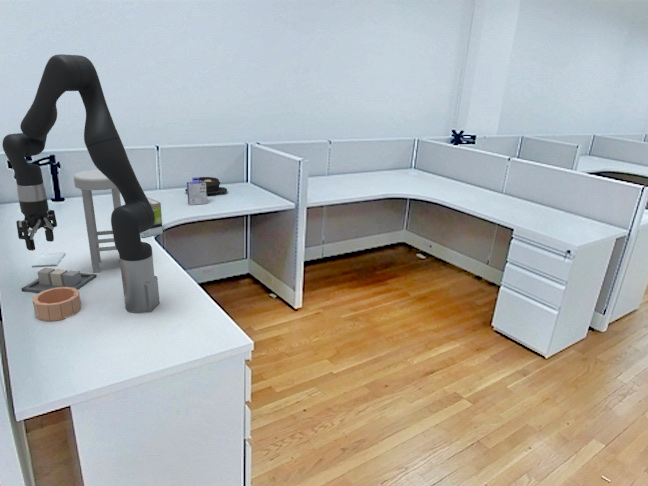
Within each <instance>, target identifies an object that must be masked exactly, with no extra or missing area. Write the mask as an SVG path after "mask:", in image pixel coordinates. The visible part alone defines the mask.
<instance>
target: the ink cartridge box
mask: <svg viewBox="0 0 648 486" xmlns="http://www.w3.org/2000/svg"><path fill="white" fill-rule="evenodd" d="M193 179H198V180H193ZM186 189H187V192H186V193H187V204H188V206H195V205H207V204H208V198H207V196H208V195H206V182H205V181H199V177H192V180H191V181H186Z"/></svg>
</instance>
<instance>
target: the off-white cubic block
mask: <svg viewBox="0 0 648 486" xmlns="http://www.w3.org/2000/svg"><path fill="white" fill-rule="evenodd" d="M68 271H69V270H67V269H61V268H57V269H55V271H53V272H51V273H50V276H51V281H52V286H61V287H62V286H64V285H65V284H64V278H63V274H65V273H66V272H68Z"/></svg>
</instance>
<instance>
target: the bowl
mask: <svg viewBox="0 0 648 486" xmlns="http://www.w3.org/2000/svg"><path fill="white" fill-rule="evenodd" d="M79 290H80V289H79ZM79 290H77V289H75V288H72V287H57V288H51V289H48V290H45V291H42V292H40V293H36V295H34V296H33V298H32V306H33V310H34V315H35V316H36V318H37V319H38V320H40V321H44V322H56V321H61V320H65V319H67V318H68V317H71V316H73V315H75V314H76V313H78V312H80V310H81V308H82V300H81V295H80V291H79Z"/></svg>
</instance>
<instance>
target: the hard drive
mask: <svg viewBox="0 0 648 486" xmlns="http://www.w3.org/2000/svg"><path fill="white" fill-rule="evenodd" d="M66 254H67V253H66V252H64V251H63V252H45V253H42V254H41V255H39V257H38V258H37V259H36V260H35V262H34V263H33V264H32V266H31V268H51V267H58V265H59V264H60V263H61V261H62V259H64V258H65V257H66Z"/></svg>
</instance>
